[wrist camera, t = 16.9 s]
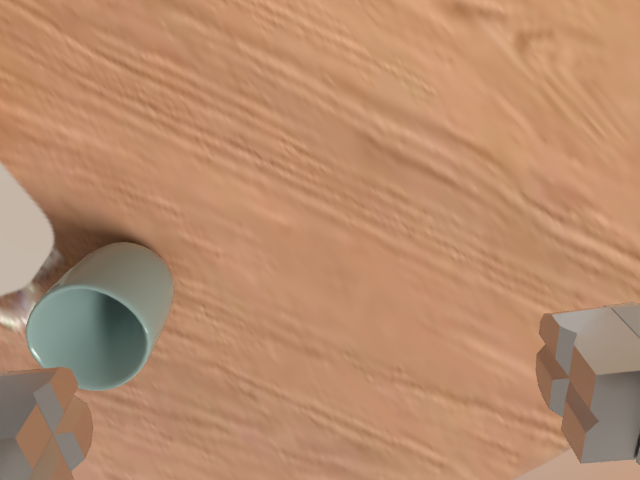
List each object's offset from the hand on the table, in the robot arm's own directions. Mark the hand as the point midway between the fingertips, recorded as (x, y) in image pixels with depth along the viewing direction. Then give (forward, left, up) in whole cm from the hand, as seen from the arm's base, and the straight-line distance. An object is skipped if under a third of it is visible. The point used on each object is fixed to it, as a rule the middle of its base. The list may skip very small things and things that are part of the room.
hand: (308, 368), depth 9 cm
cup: (-15, -10, -31) cm, 36 cm away
